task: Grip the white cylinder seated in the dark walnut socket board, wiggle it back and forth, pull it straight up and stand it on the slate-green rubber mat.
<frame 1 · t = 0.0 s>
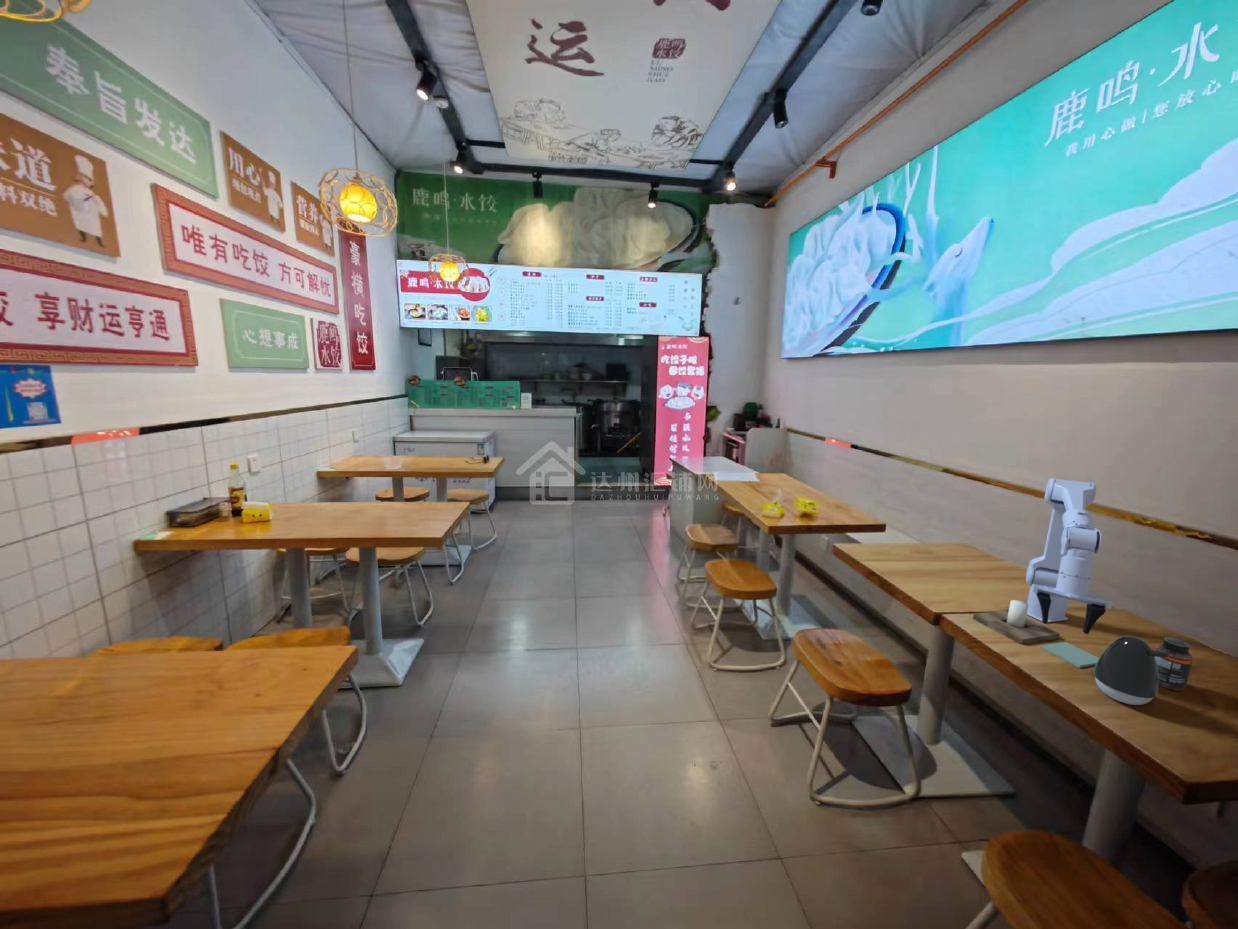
hand: (1064, 627, 119), 11 cm above the table, tool pointing down, fingers open, 7 cm apart
rubber mat: (1071, 655, 126), on the table
white cylinder: (1016, 615, 138), in the socket board
socket board: (1014, 628, 139), on the table
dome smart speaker: (1121, 697, 110), on the table
supplement bottle: (1165, 684, 115), on the table
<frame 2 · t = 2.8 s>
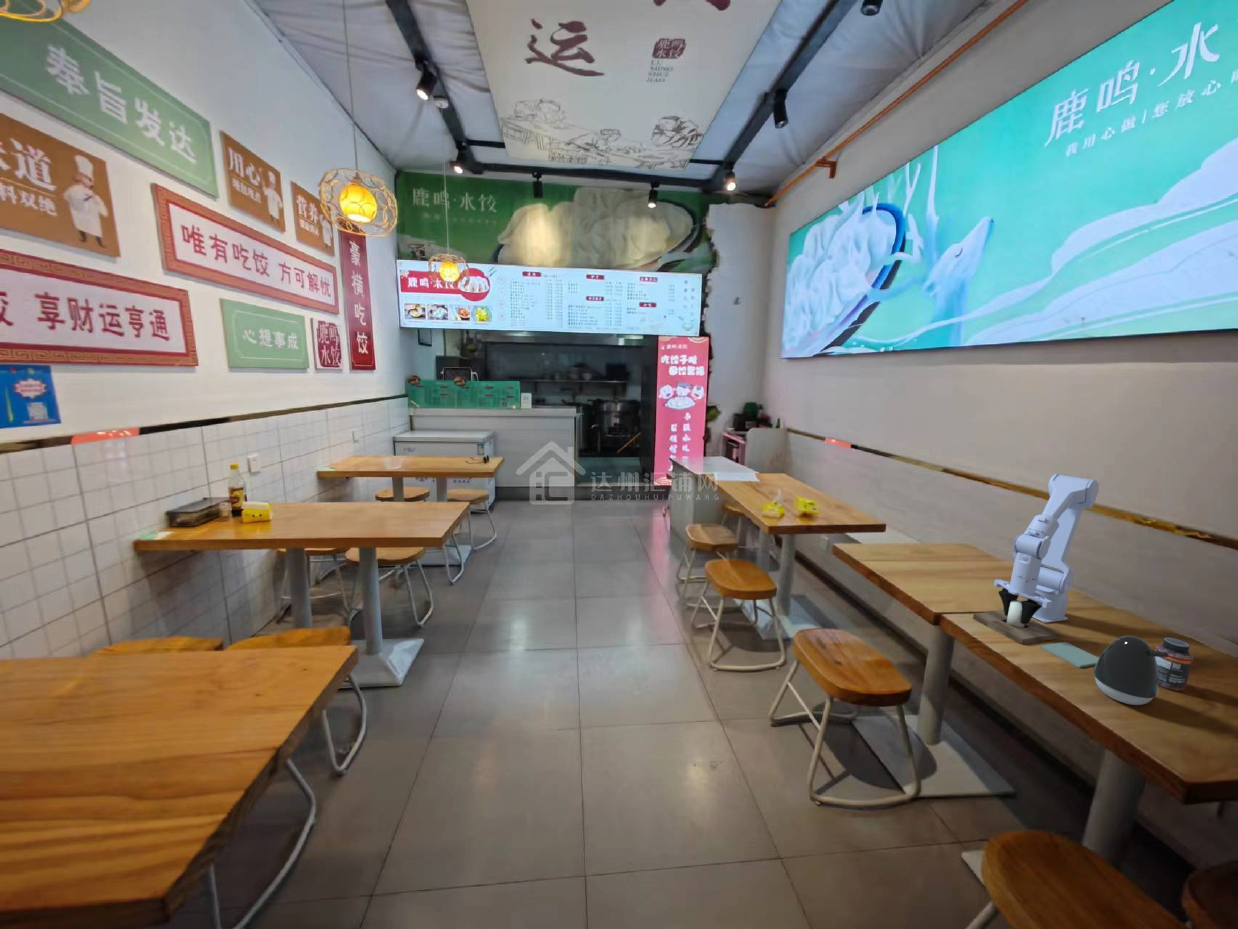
hand: (1016, 619, 138), 3 cm above the table, tool pointing down, fingers closed on white cylinder, 4 cm apart
white cylinder: (1016, 615, 138), in the socket board, touching gripper
everything else where it was.
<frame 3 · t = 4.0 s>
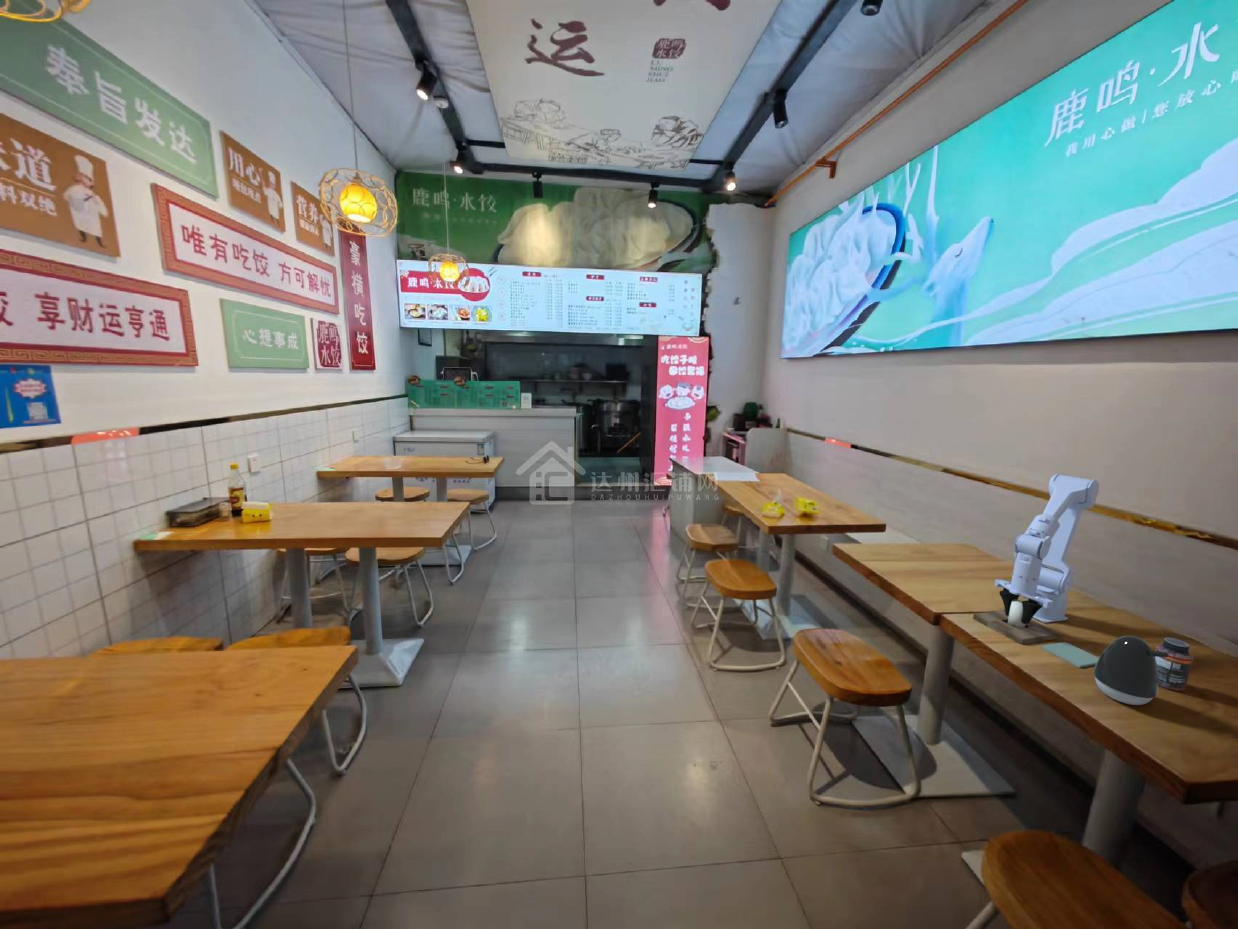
hand: (1017, 619, 138), 3 cm above the table, tool pointing down, fingers closed on white cylinder, 4 cm apart
white cylinder: (1018, 615, 138), in the socket board, touching gripper
everything else where it was.
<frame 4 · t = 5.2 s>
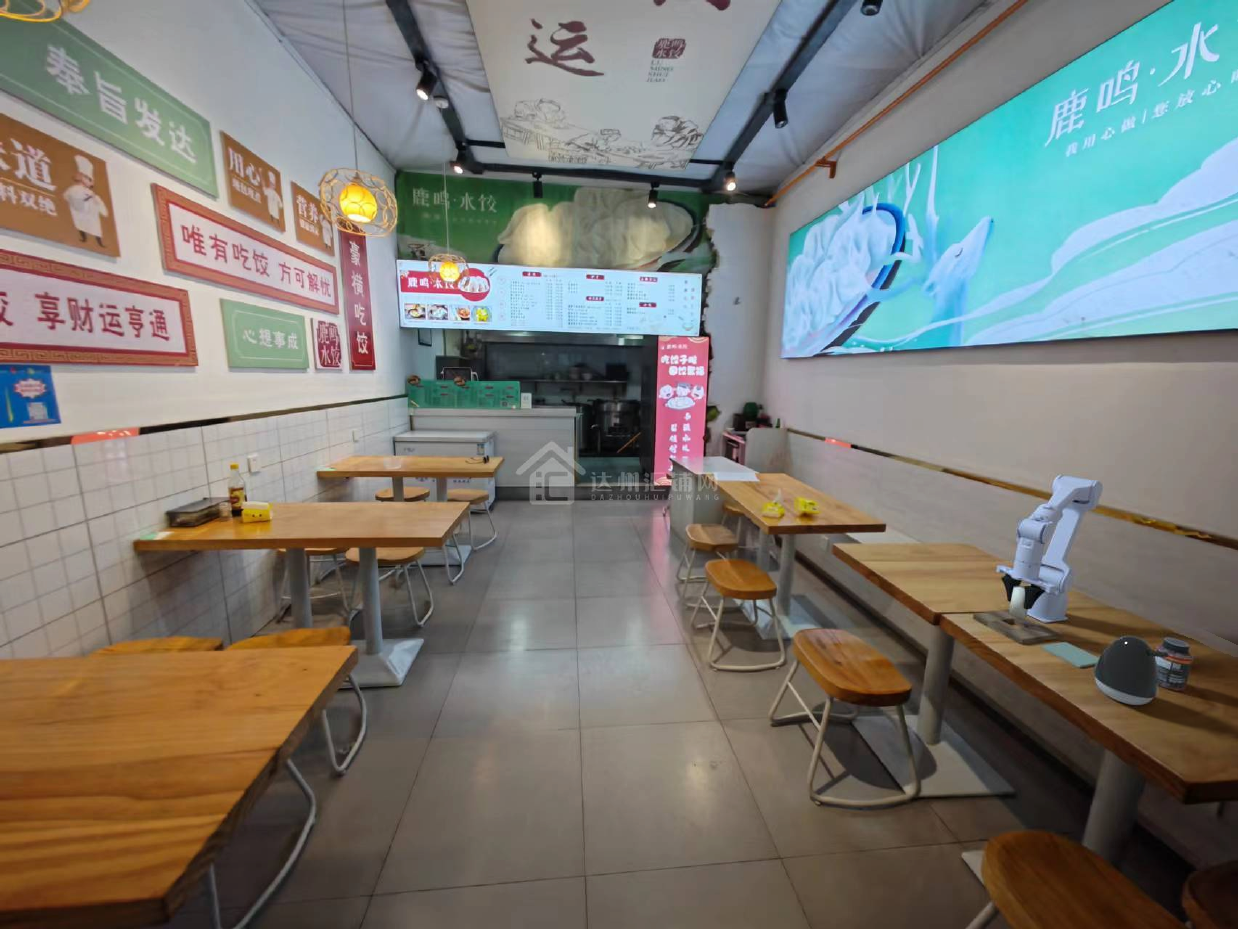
hand: (1019, 604, 137), 7 cm above the table, tool pointing down, fingers closed on white cylinder, 4 cm apart
white cylinder: (1020, 601, 137), point 9 cm above the table, touching gripper
everything else where it was.
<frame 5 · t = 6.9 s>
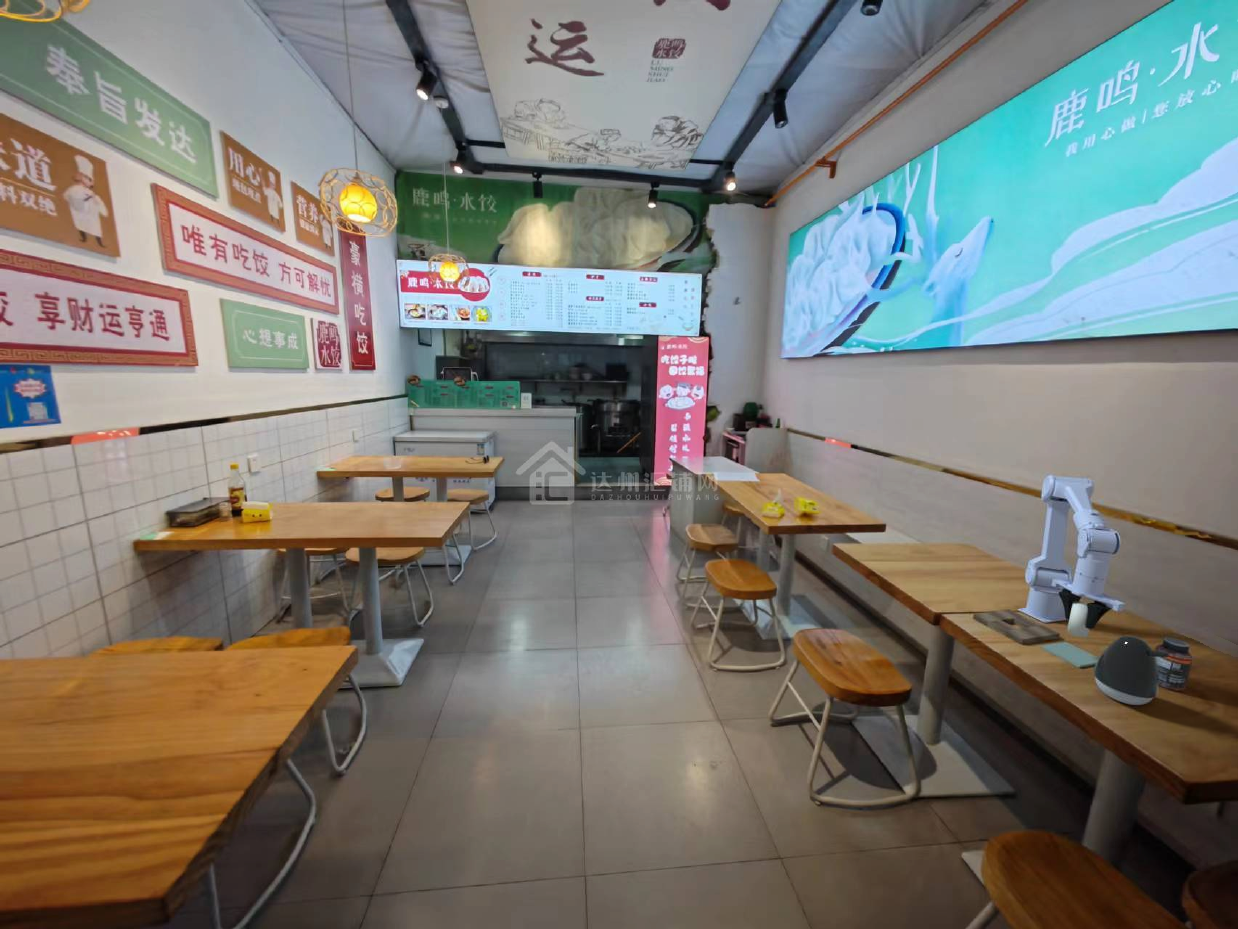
hand: (1079, 623, 124), 9 cm above the table, tool pointing down, fingers closed on white cylinder, 4 cm apart
white cylinder: (1080, 619, 124), point 11 cm above the table, touching gripper
everything else where it was.
when the fingers open (4 cm above the table, at t = 8.1 s): white cylinder stays where it is, resting on rubber mat.
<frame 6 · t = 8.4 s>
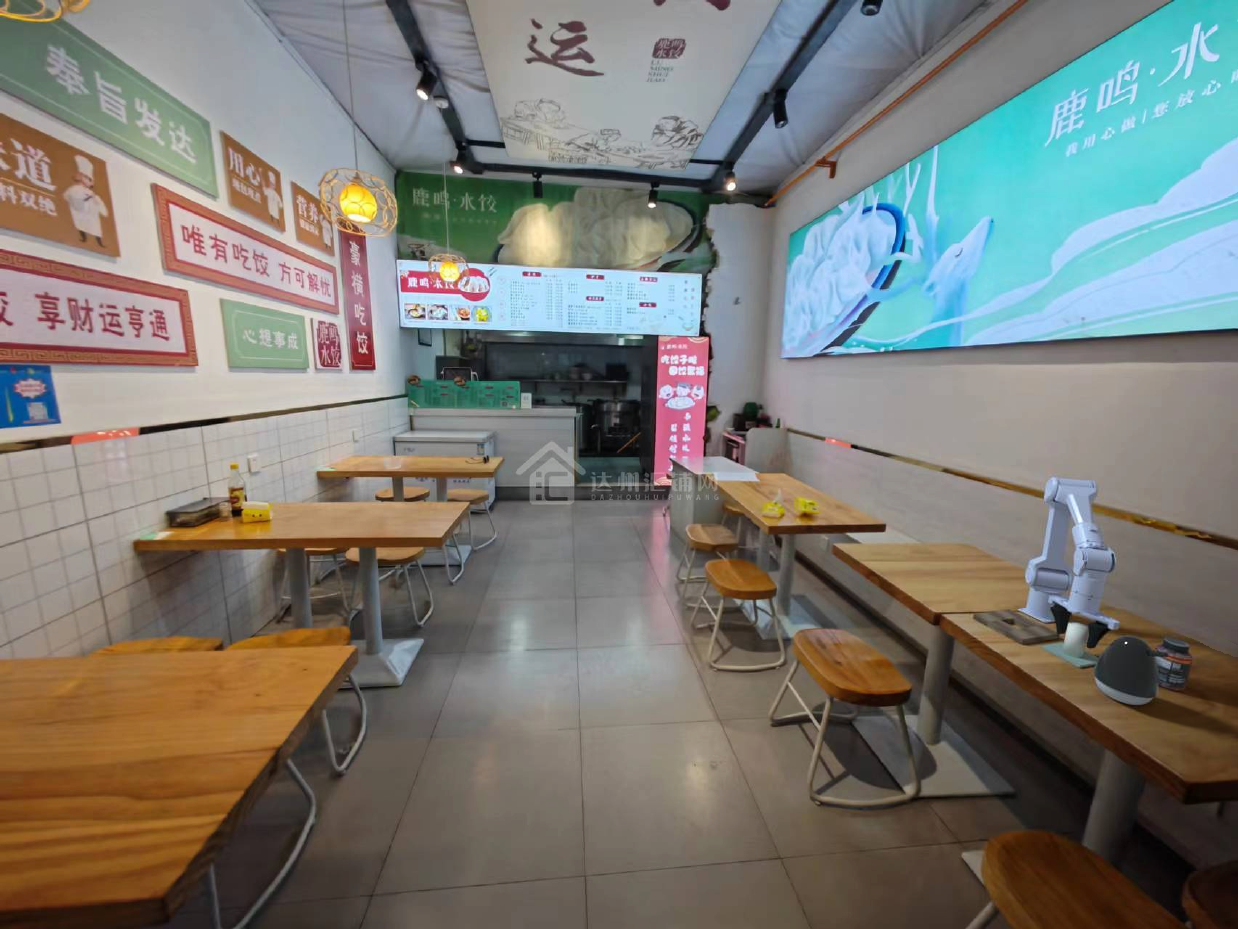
hand: (1075, 640, 125), 4 cm above the table, tool pointing down, fingers open, 6 cm apart
white cylinder: (1075, 639, 125), on the rubber mat, point 5 cm above the table
everything else where it was.
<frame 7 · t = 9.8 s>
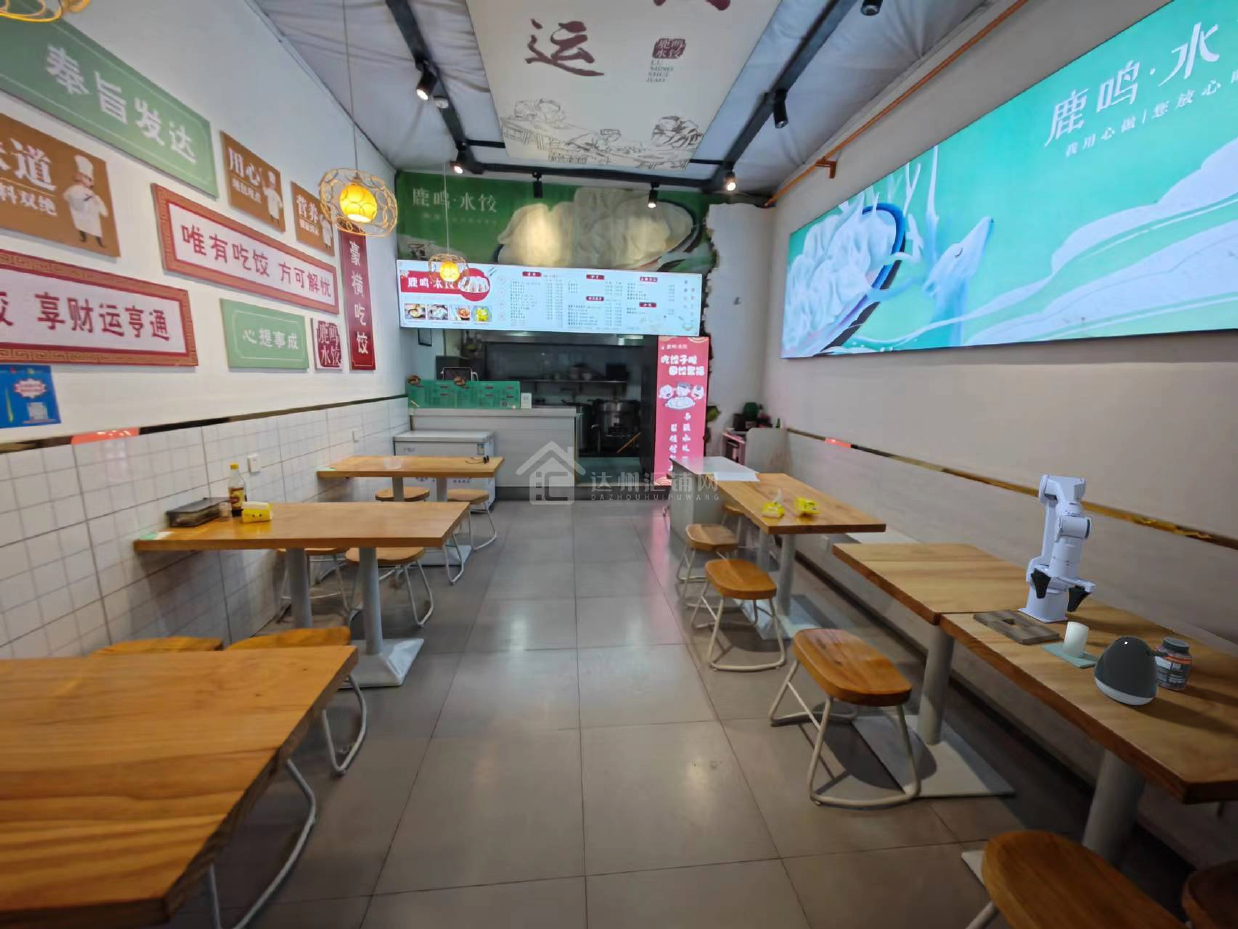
hand: (1055, 604, 132), 10 cm above the table, tool pointing down, fingers open, 7 cm apart
nothing on the table moved.
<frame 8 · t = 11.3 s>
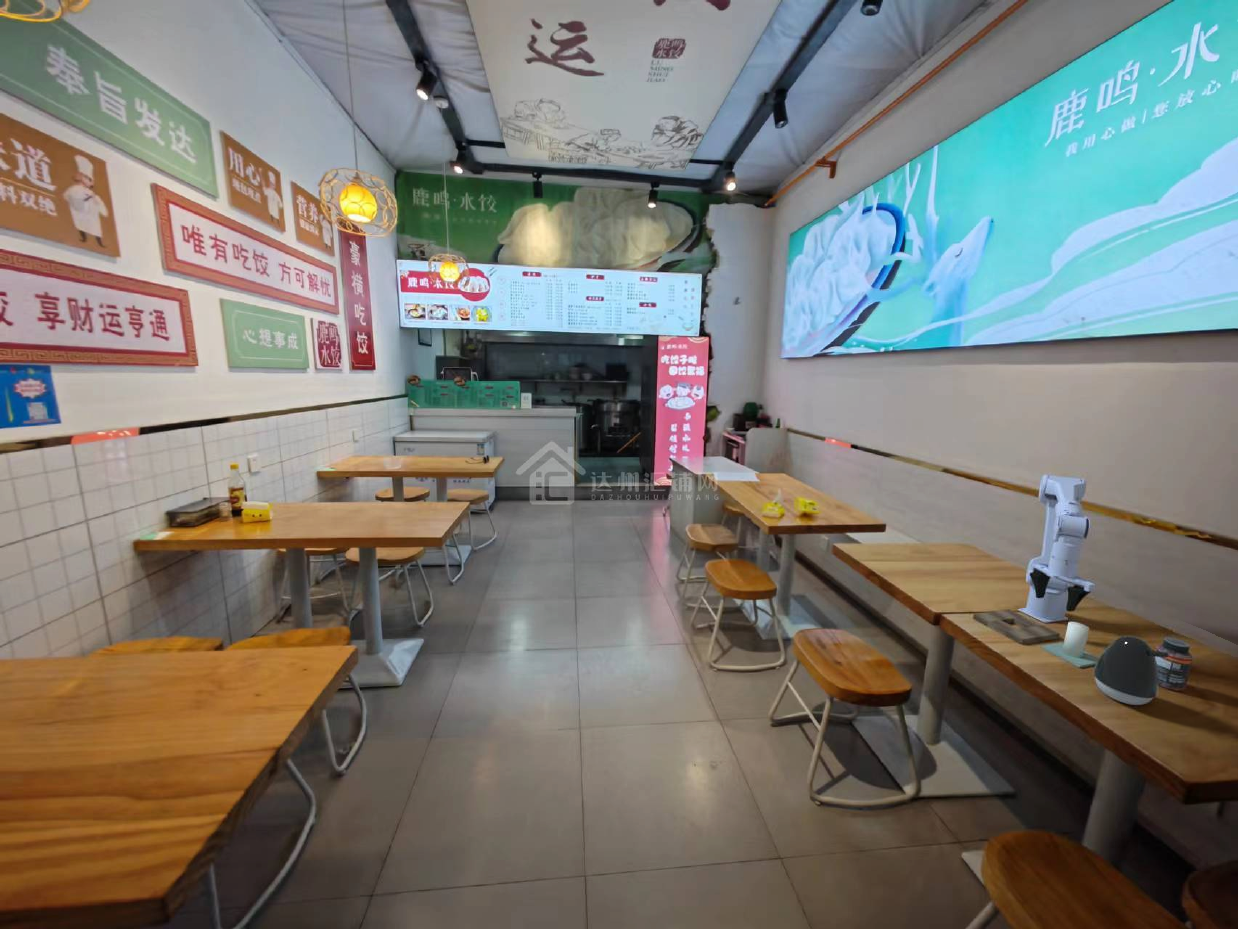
hand: (1054, 603, 132), 10 cm above the table, tool pointing down, fingers open, 7 cm apart
nothing on the table moved.
at the end: white cylinder 0.0 cm off-centre on the rubber mat, point 4.6 cm above the rubber mat's base; white cylinder tilted 1°; the gripper is holding nothing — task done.
